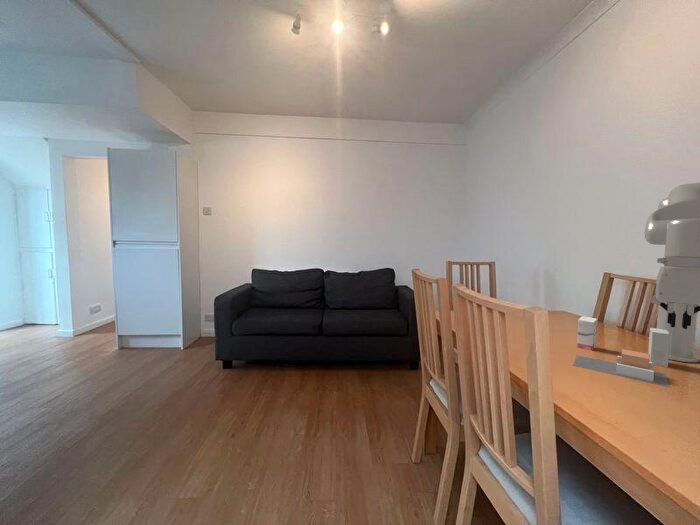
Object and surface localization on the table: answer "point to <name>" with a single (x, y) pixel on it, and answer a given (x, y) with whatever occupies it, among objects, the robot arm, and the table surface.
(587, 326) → the ink box
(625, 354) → the block
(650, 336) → the skincare box
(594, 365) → the channel base
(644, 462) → the table surface
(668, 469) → the table surface
